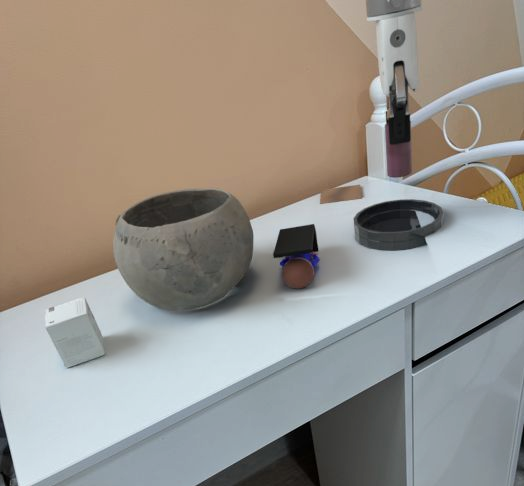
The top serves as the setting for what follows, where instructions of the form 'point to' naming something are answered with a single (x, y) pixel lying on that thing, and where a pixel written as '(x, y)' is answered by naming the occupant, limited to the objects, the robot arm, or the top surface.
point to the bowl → (183, 247)
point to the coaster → (340, 194)
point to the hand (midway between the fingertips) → (398, 138)
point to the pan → (396, 224)
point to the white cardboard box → (74, 332)
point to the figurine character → (297, 254)
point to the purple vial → (398, 155)
